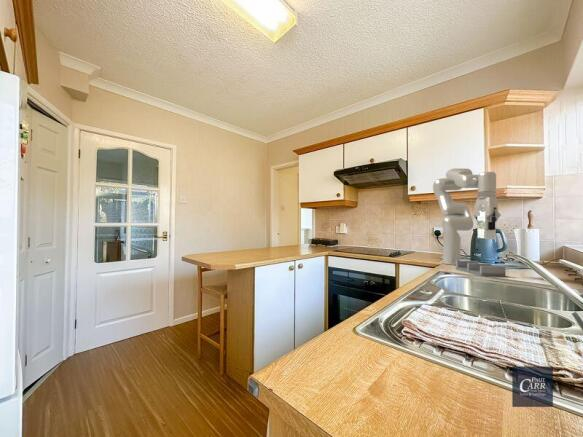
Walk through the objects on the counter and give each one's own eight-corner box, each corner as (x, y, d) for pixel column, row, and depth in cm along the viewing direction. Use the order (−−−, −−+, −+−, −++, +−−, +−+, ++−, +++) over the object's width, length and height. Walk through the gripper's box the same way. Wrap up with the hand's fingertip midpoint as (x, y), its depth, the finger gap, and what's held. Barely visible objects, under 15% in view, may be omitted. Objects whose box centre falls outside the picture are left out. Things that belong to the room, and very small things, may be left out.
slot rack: (456, 269, 141) (456, 260, 141) (477, 269, 141) (477, 261, 141) (481, 276, 123) (481, 266, 123) (505, 276, 124) (505, 266, 124)
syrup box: (496, 239, 125) (496, 211, 126) (484, 239, 126) (485, 211, 126) (487, 238, 131) (487, 211, 131) (476, 238, 131) (476, 211, 131)
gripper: (467, 196, 137) (466, 228, 137) (494, 193, 120) (494, 230, 120) (479, 197, 137) (479, 229, 137) (508, 194, 120) (508, 230, 120)
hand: (486, 229), depth 128 cm, fingers closed on syrup box, 5 cm apart
